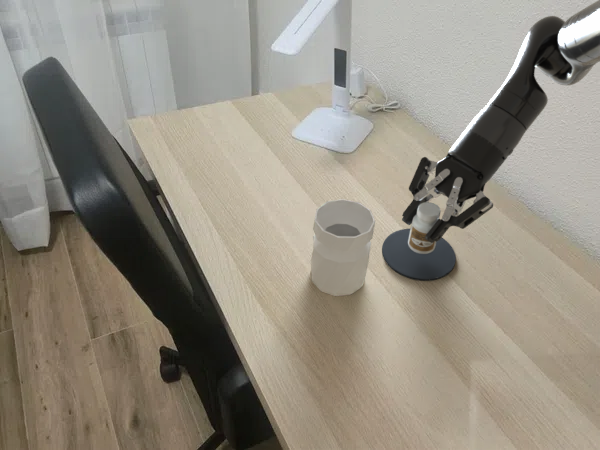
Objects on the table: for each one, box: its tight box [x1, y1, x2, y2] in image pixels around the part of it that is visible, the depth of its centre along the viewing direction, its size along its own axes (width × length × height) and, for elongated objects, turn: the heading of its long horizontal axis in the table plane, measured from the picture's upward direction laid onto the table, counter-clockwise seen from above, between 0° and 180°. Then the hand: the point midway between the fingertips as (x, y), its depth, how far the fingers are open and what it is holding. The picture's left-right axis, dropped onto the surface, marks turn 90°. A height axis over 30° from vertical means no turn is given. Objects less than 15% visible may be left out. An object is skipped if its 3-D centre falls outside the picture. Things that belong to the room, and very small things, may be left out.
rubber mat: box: [381, 228, 457, 282], centre depth 91 cm, size 12×12×1 cm
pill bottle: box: [408, 201, 442, 254], centre depth 87 cm, size 4×4×8 cm
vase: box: [310, 198, 376, 297], centre depth 82 cm, size 9×9×12 cm
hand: (417, 231), depth 86 cm, fingers closed on pill bottle, 4 cm apart
